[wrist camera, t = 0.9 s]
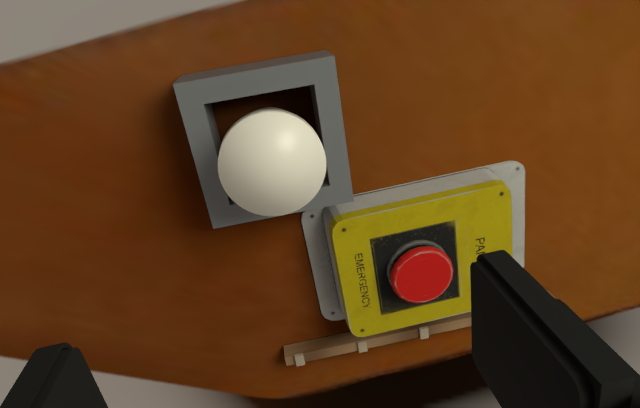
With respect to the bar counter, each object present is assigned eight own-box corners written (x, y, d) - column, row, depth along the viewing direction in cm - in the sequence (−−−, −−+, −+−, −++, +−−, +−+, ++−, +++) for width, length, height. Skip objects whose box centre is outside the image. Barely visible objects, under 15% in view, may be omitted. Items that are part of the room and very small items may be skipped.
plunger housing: (325, 49, 26) (334, 55, 23) (344, 182, 29) (353, 201, 26) (181, 75, 25) (172, 84, 22) (217, 207, 28) (213, 229, 26)
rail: (547, 288, 35) (558, 299, 33) (546, 298, 35) (557, 309, 34) (283, 345, 33) (284, 358, 32) (285, 354, 34) (287, 368, 32)
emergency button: (304, 235, 26) (560, 177, 26) (297, 203, 30) (520, 154, 30) (331, 361, 30) (555, 307, 30) (322, 318, 34) (519, 272, 34)
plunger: (308, 89, 24) (317, 103, 21) (322, 178, 26) (333, 205, 23) (212, 106, 24) (205, 124, 20) (234, 195, 26) (231, 225, 22)
